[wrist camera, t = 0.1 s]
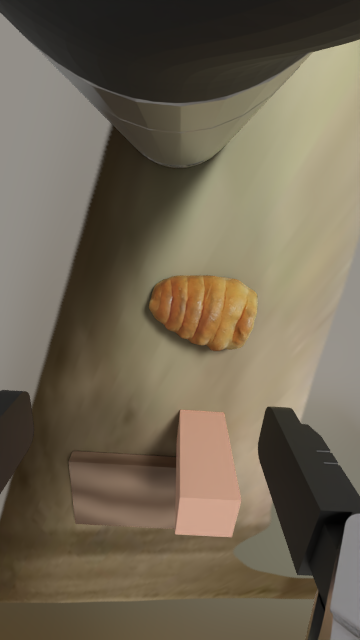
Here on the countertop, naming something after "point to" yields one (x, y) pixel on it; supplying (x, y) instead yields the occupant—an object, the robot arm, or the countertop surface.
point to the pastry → (206, 309)
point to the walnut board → (123, 489)
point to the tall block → (205, 476)
